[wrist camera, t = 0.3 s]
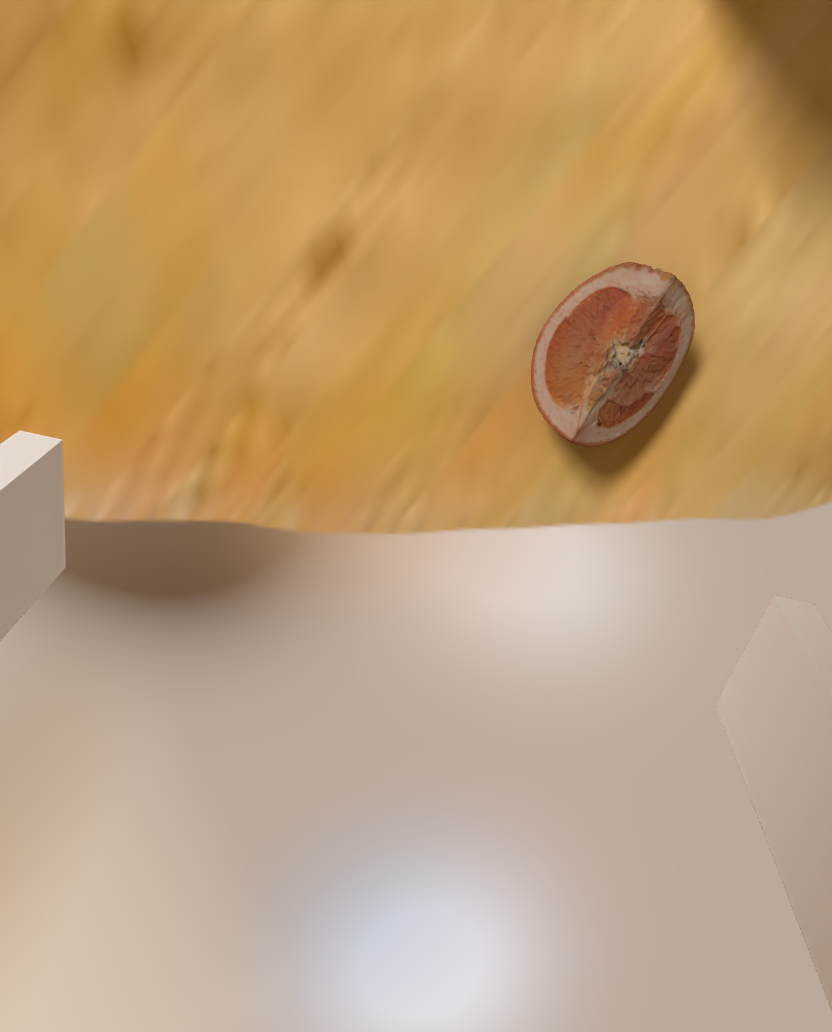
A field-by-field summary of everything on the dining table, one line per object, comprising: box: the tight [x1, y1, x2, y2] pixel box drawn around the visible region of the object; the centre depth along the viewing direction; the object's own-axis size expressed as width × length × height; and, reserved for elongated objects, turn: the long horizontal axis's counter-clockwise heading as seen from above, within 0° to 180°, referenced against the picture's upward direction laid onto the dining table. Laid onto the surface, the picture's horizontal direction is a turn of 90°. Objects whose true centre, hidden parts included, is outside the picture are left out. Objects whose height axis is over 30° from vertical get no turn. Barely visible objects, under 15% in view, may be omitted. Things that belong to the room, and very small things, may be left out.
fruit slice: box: [531, 262, 695, 447], centre depth 36 cm, size 8×7×5 cm
